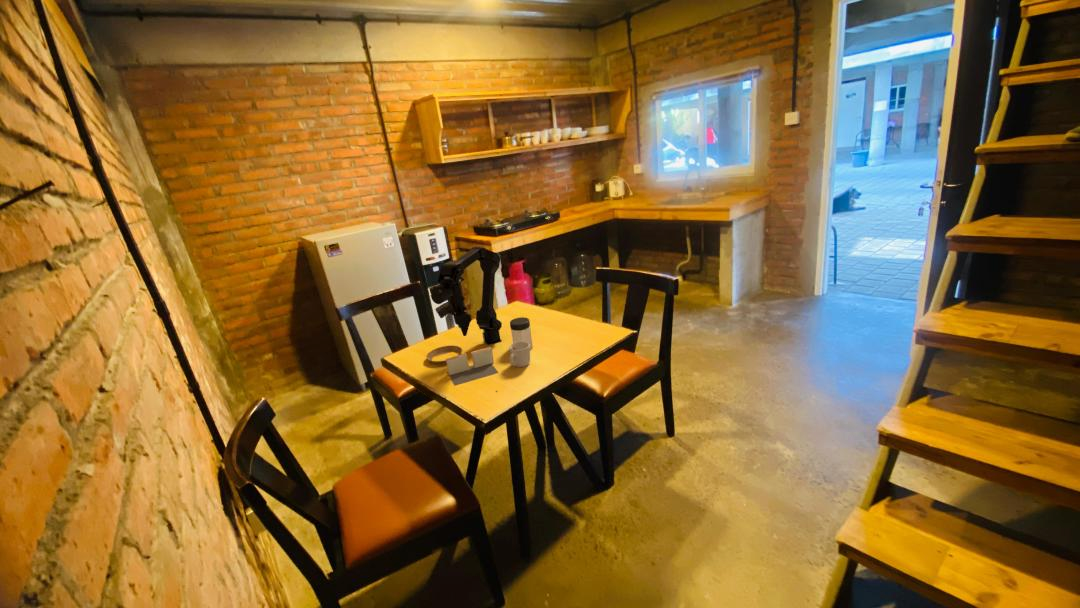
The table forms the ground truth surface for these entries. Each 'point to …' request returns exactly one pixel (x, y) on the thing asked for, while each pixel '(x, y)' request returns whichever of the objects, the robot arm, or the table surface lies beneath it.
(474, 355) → the tile
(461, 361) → the tile
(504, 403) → the table surface
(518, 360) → the cup
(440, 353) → the brown ring
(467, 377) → the mat
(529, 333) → the jar
